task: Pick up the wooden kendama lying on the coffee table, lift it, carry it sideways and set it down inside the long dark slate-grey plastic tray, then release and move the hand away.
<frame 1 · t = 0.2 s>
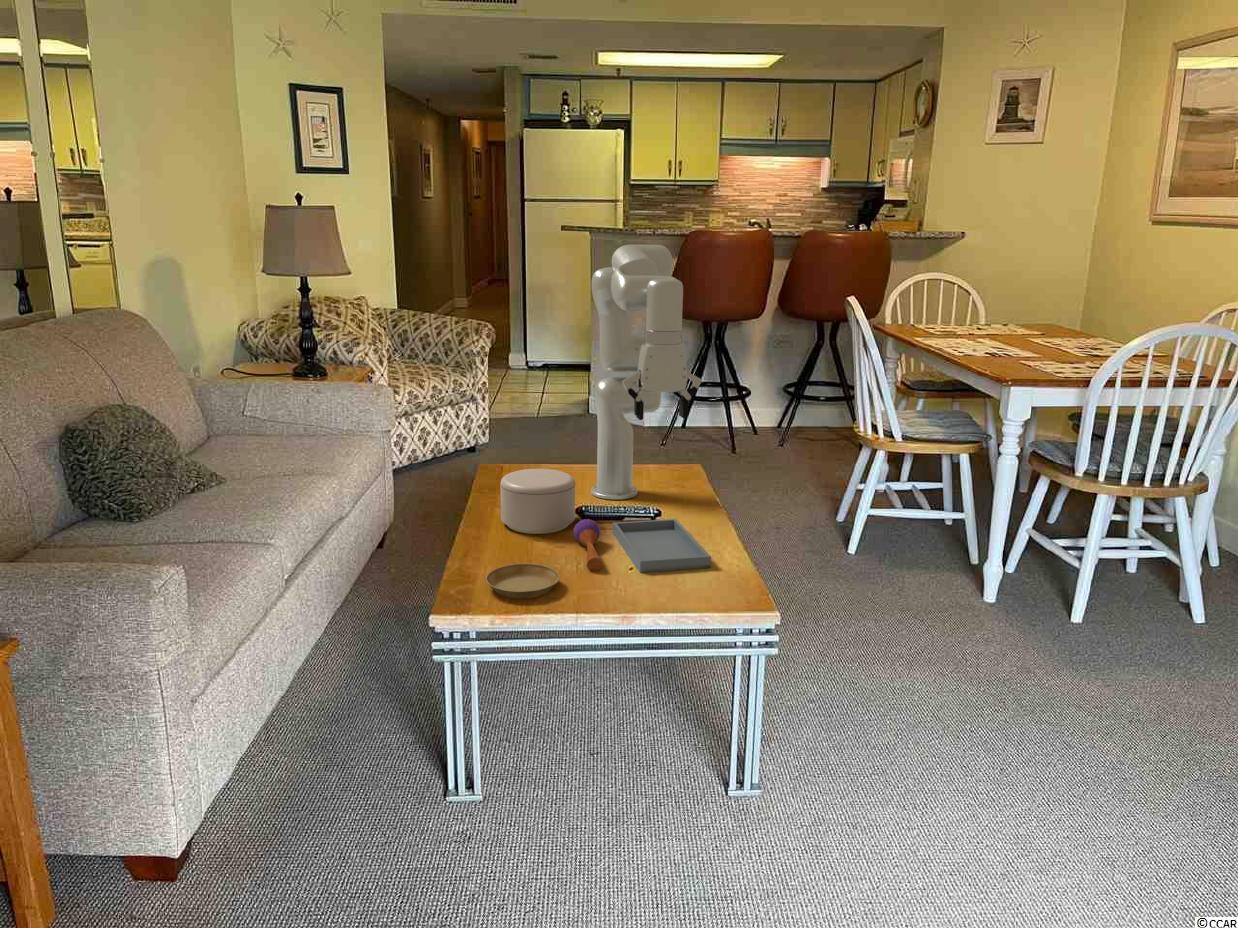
hand: (661, 418, 200), 31 cm above the table, tool pointing down, fingers open, 9 cm apart
plant saucer: (522, 589, 186), on the table
kendama: (589, 556, 205), on the table
tray: (658, 549, 209), on the table
container: (538, 524, 225), on the table
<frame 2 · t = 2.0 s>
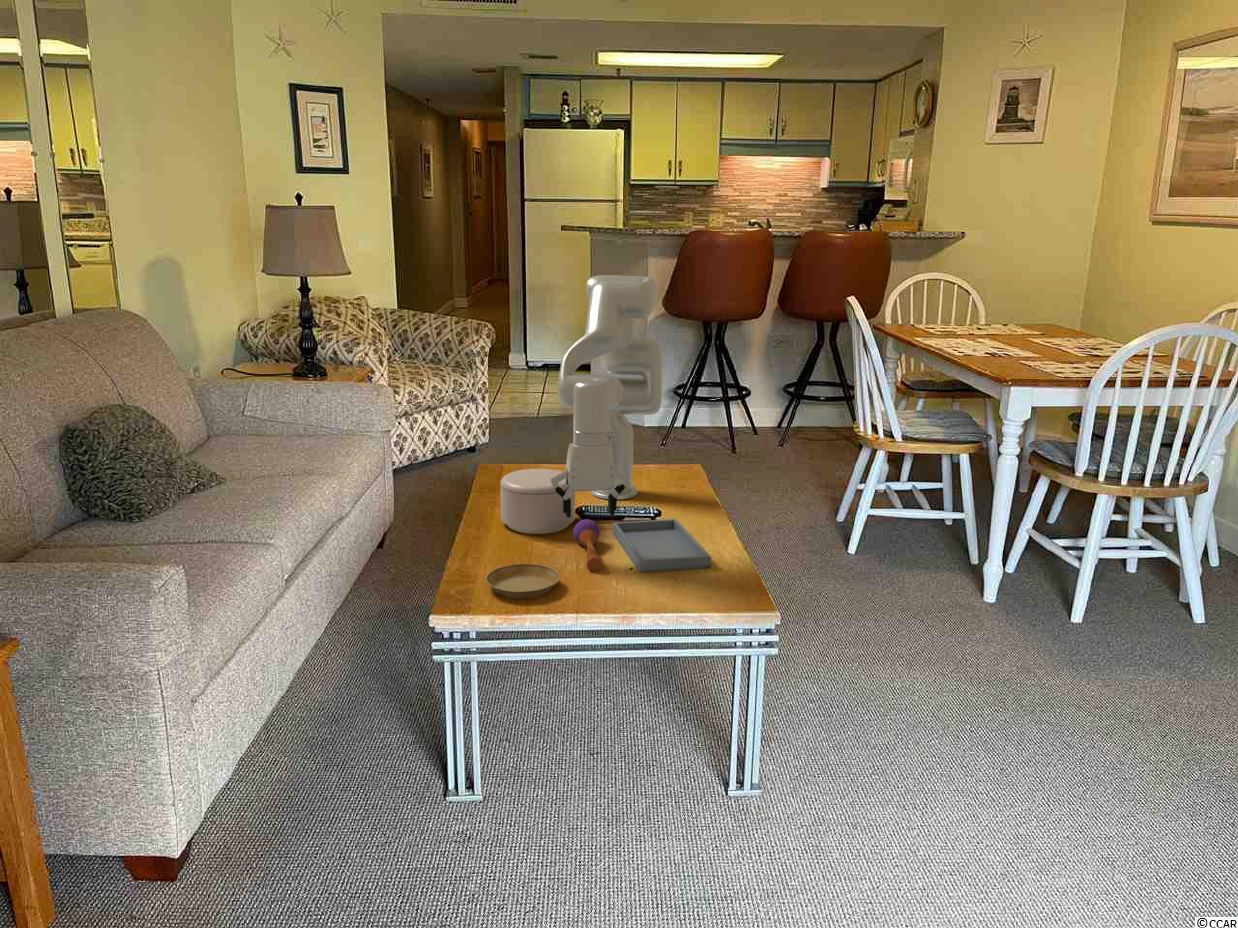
hand: (589, 514, 202), 9 cm above the table, tool pointing down, fingers open, 9 cm apart
nothing on the table moved.
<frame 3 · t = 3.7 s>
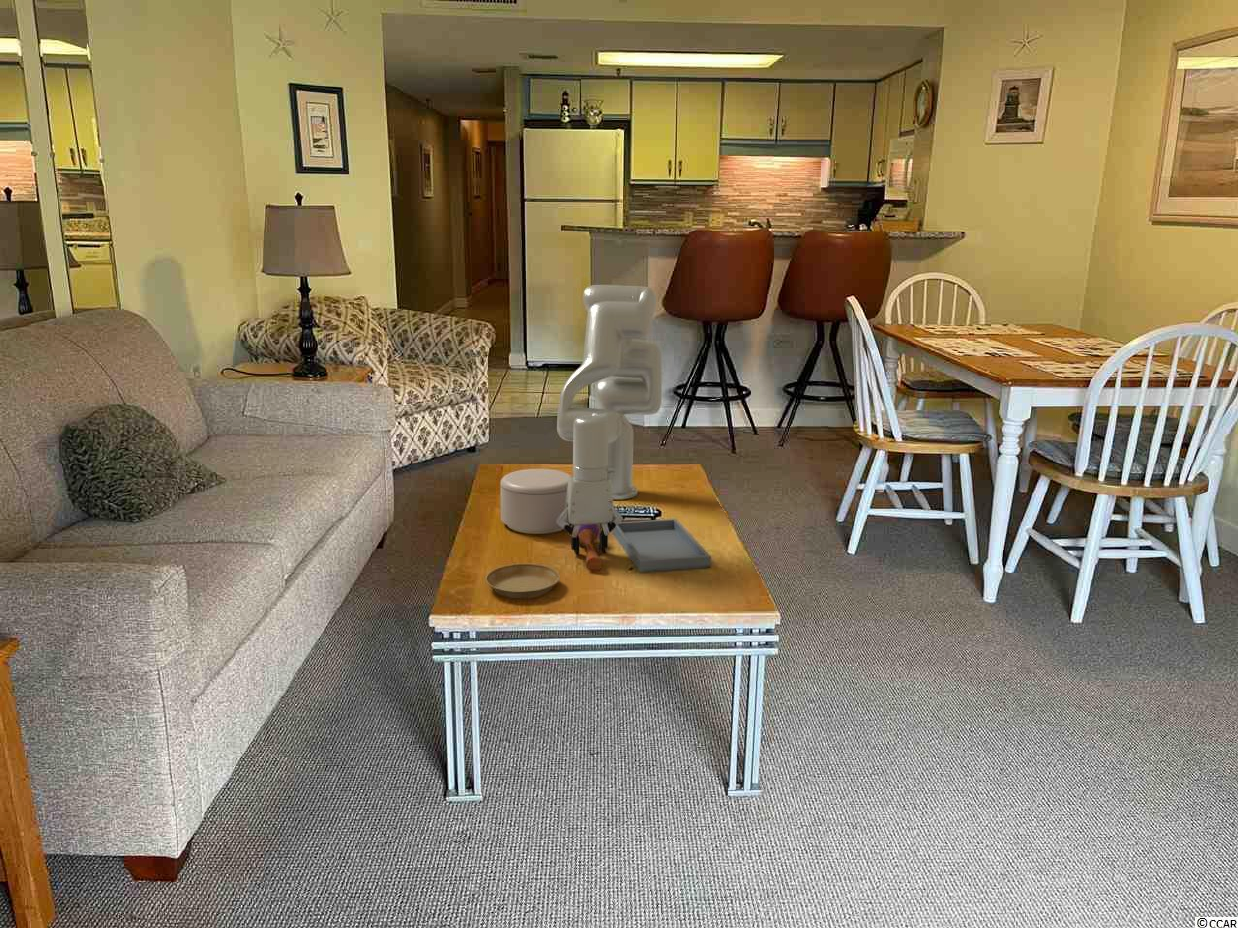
hand: (589, 550, 205), 1 cm above the table, tool pointing down, fingers closed on kendama, 5 cm apart
kendama: (588, 555, 205), on the table, touching gripper
everything else where it was.
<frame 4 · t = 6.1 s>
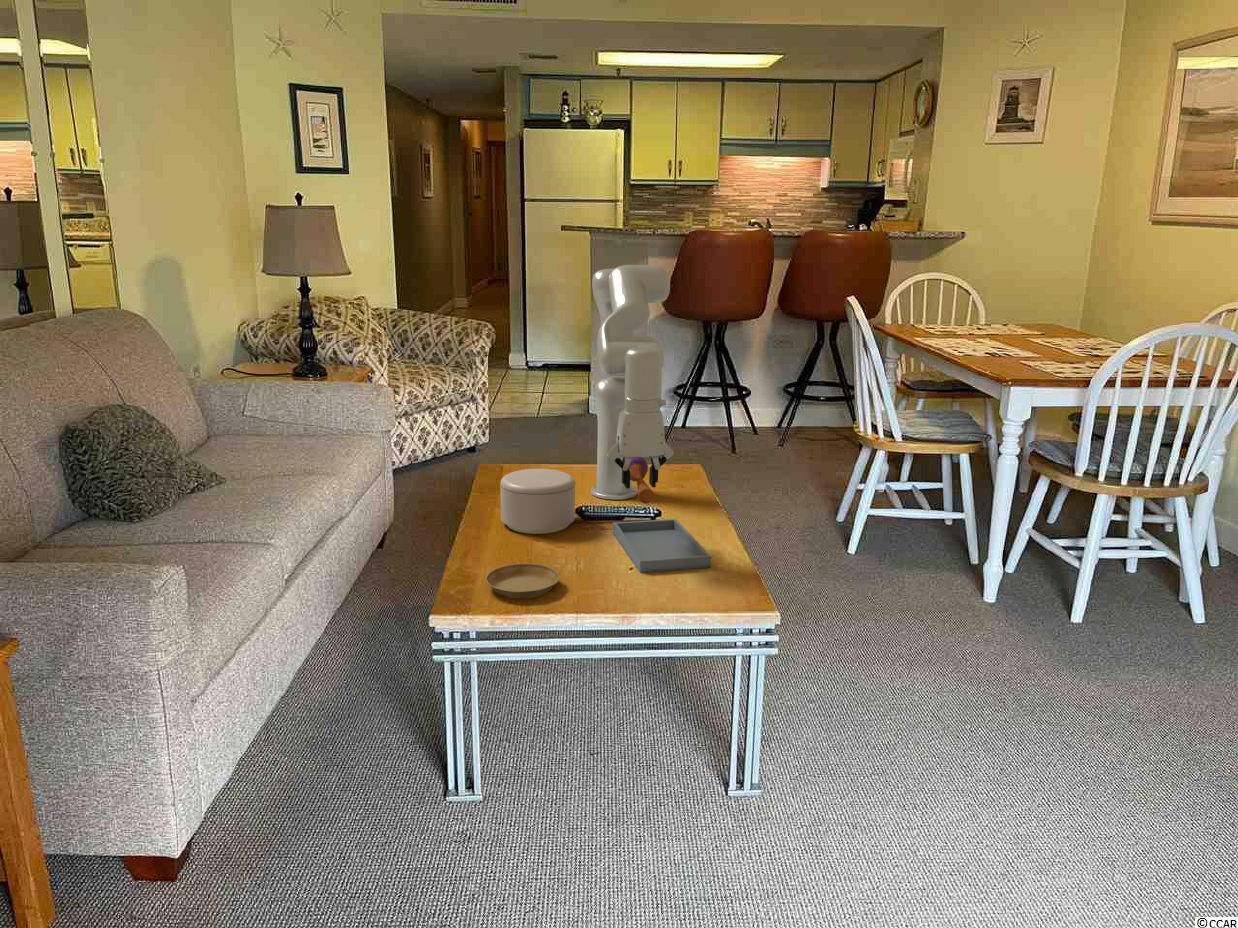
hand: (639, 485, 204), 15 cm above the table, tool pointing down, fingers closed on kendama, 5 cm apart
kendama: (639, 490, 204), point 14 cm above the table, touching gripper
everything else where it was.
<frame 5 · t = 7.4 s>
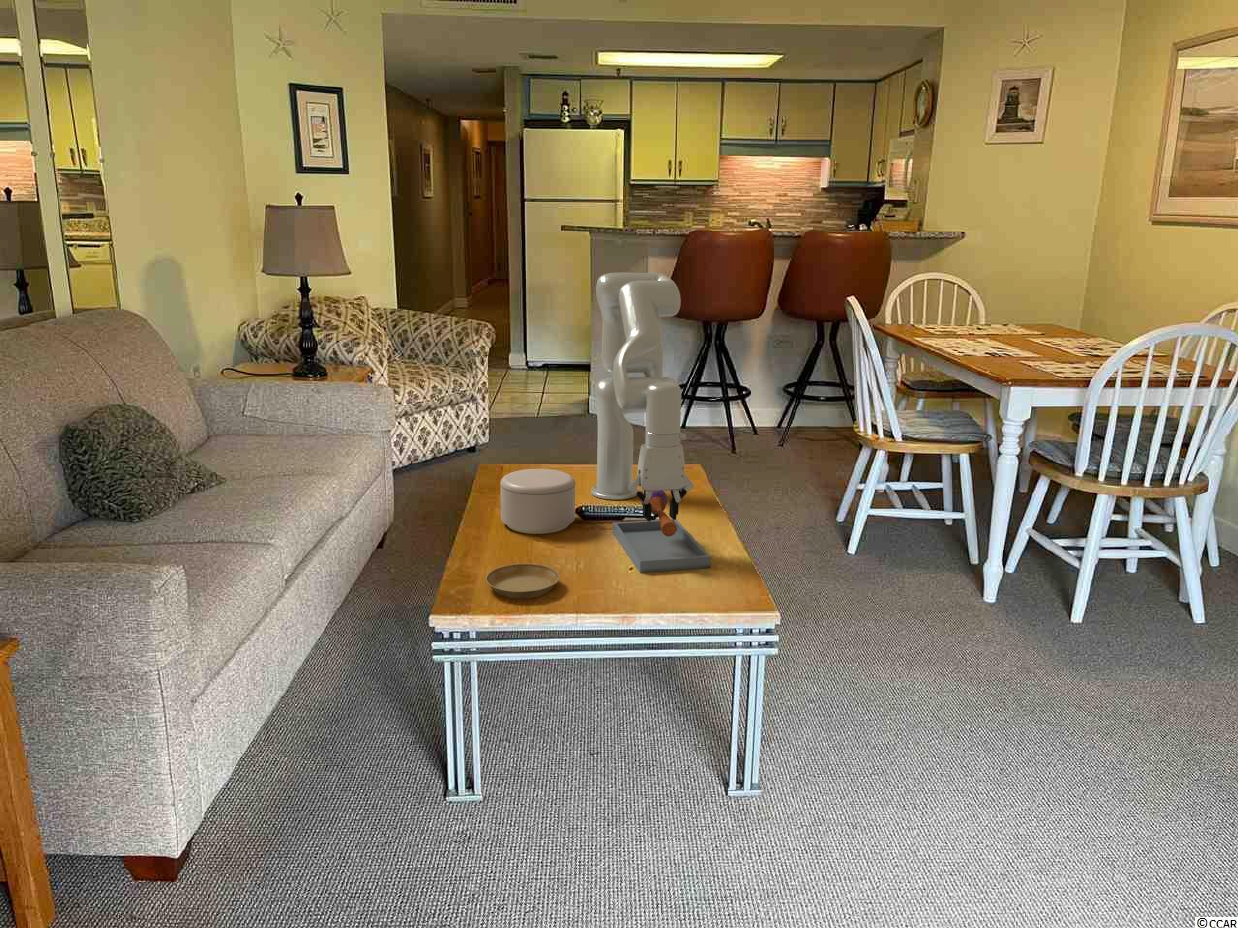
hand: (660, 518, 207), 8 cm above the table, tool pointing down, fingers closed on kendama, 5 cm apart
kendama: (659, 522, 207), point 7 cm above the table, touching gripper
everything else where it was.
when the fingers open (2 cm above the table, at t = 8.6 s): kendama drops 1 cm, resting on tray.
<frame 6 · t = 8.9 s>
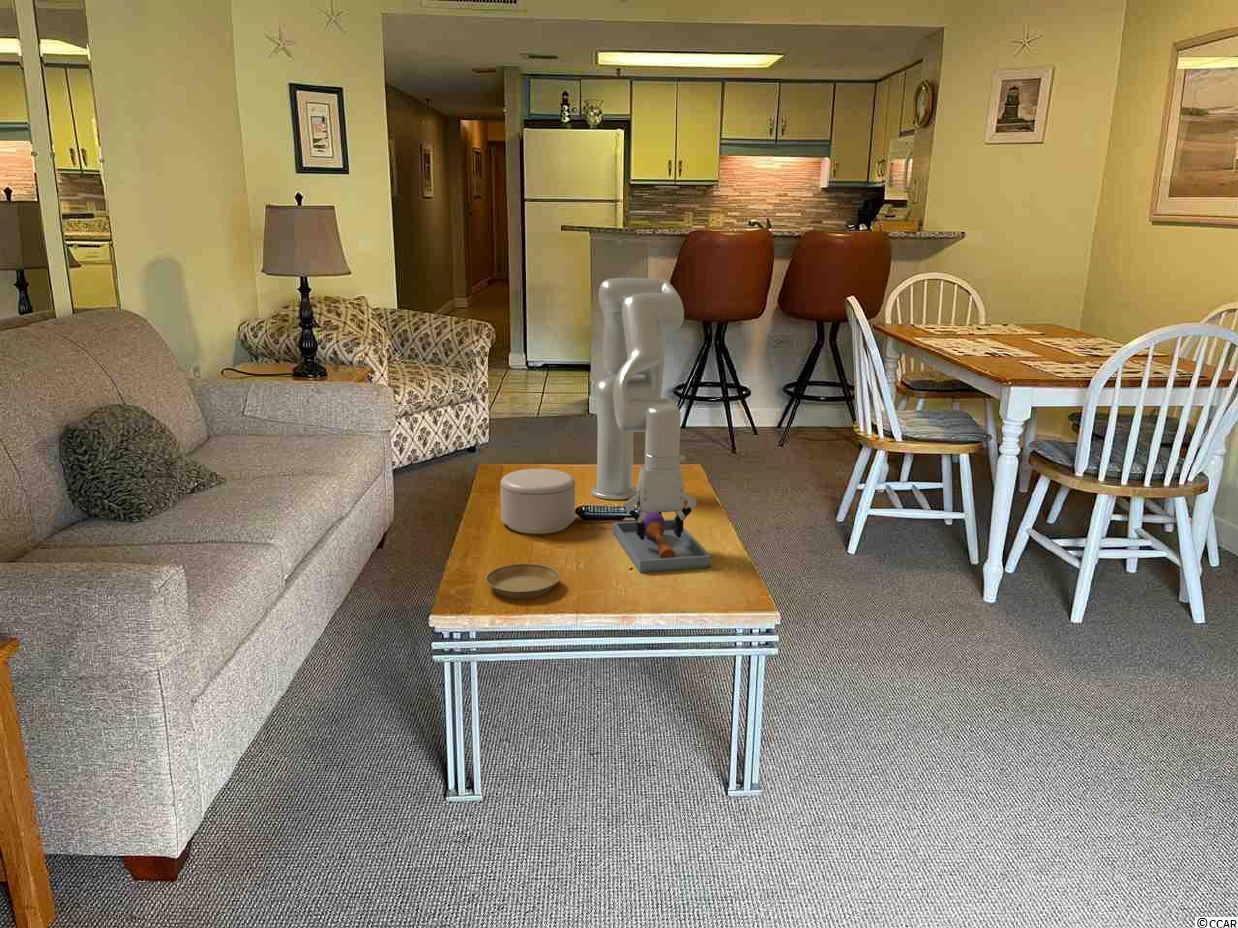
hand: (659, 536, 208), 3 cm above the table, tool pointing down, fingers open, 8 cm apart
kendama: (658, 548, 209), resting on tray
everything else where it was.
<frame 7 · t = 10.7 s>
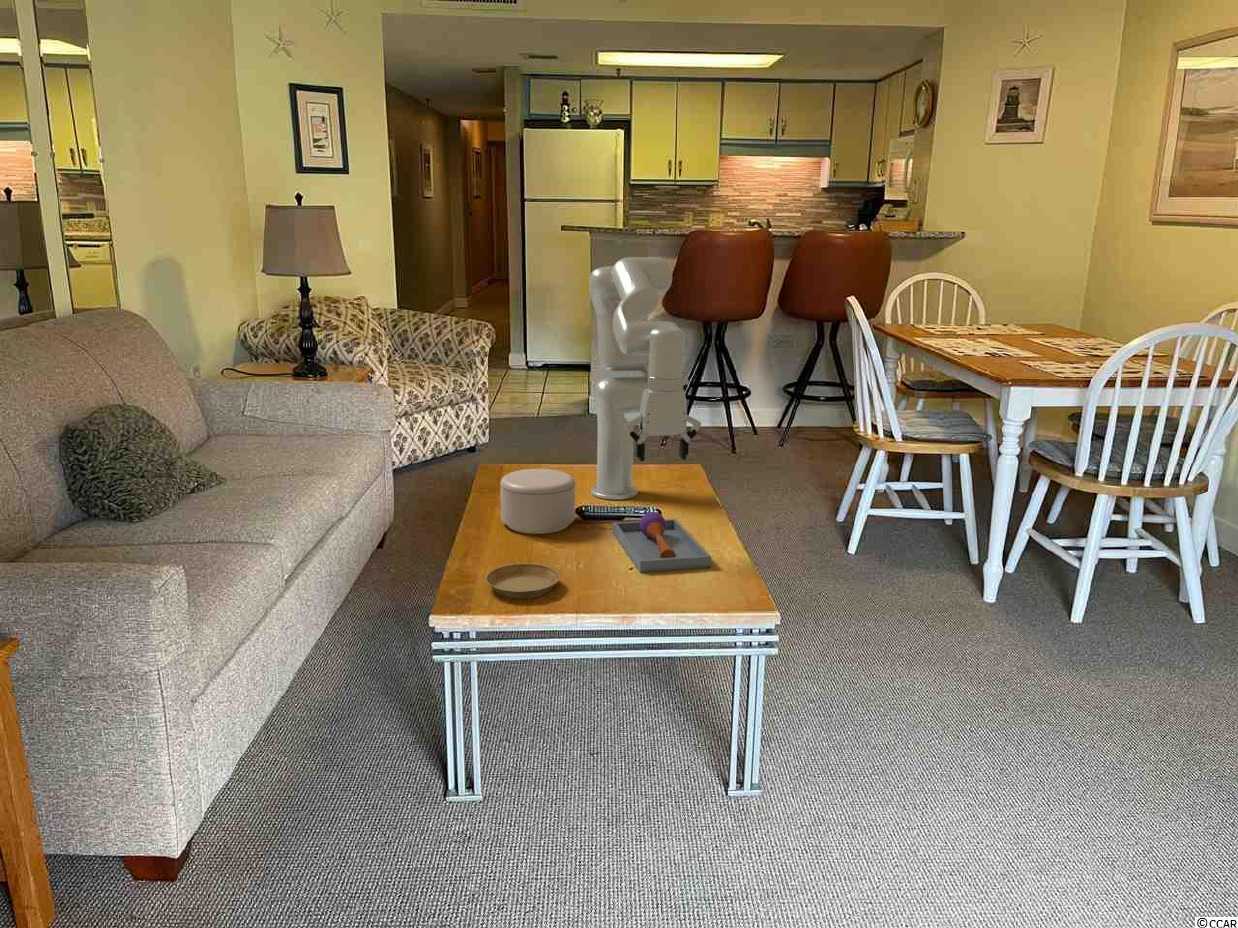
hand: (661, 459, 208), 20 cm above the table, tool pointing down, fingers open, 9 cm apart
nothing on the table moved.
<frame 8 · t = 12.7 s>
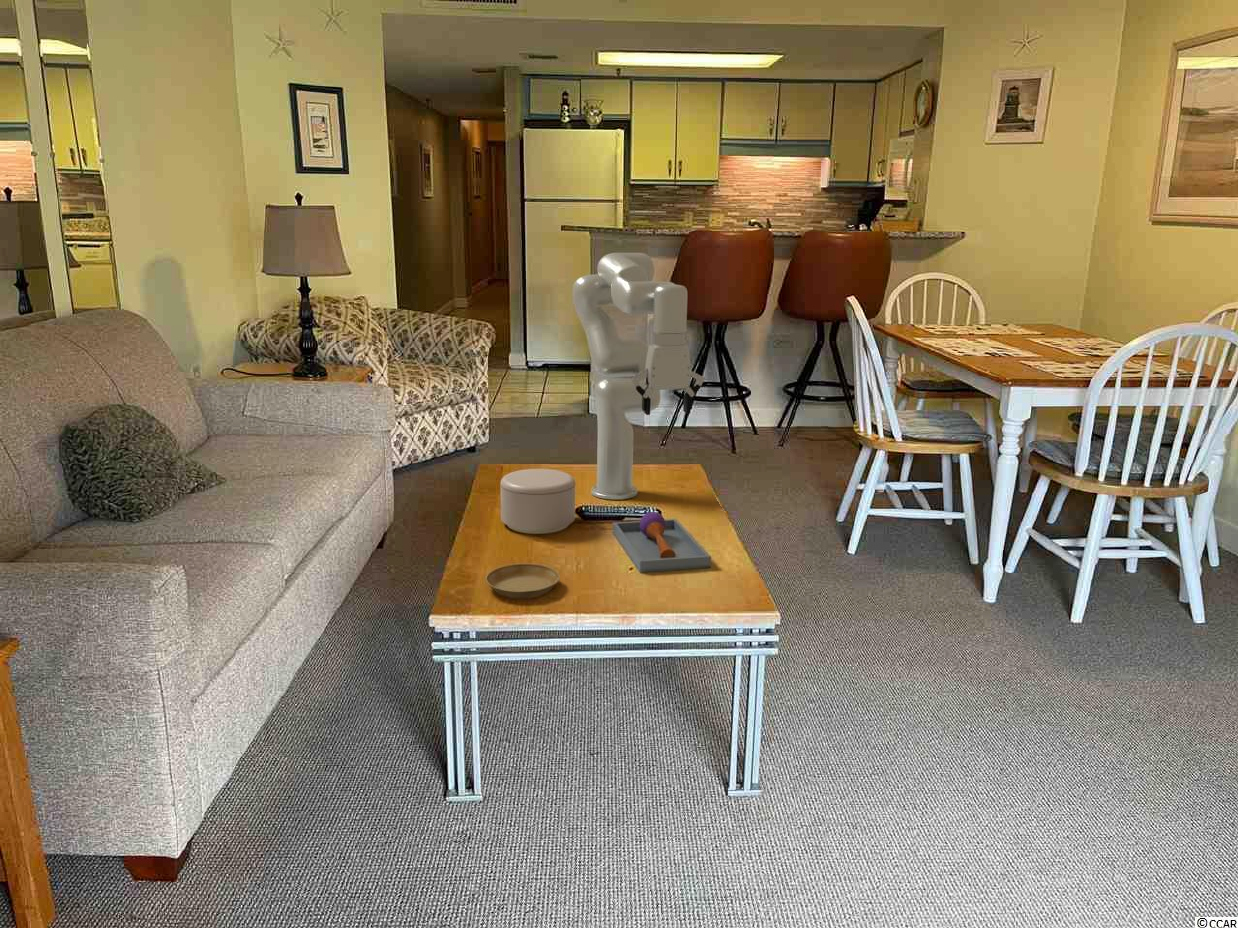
hand: (666, 413, 216), 28 cm above the table, tool pointing down, fingers open, 9 cm apart
nothing on the table moved.
at the end: kendama inside the target area on the tray (0.2 cm from its centre), point 0.4 cm above the tray's base; kendama tilted 1°; the gripper is holding nothing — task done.
